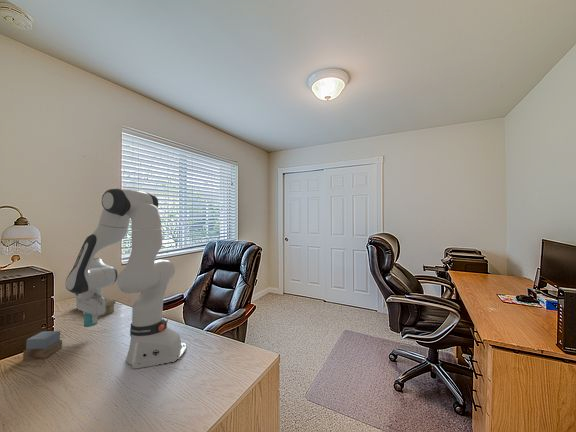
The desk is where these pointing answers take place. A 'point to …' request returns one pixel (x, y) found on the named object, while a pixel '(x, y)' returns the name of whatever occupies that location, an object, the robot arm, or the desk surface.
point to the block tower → (109, 305)
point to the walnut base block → (42, 352)
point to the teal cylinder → (88, 320)
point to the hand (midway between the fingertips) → (90, 321)
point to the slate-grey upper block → (43, 340)
